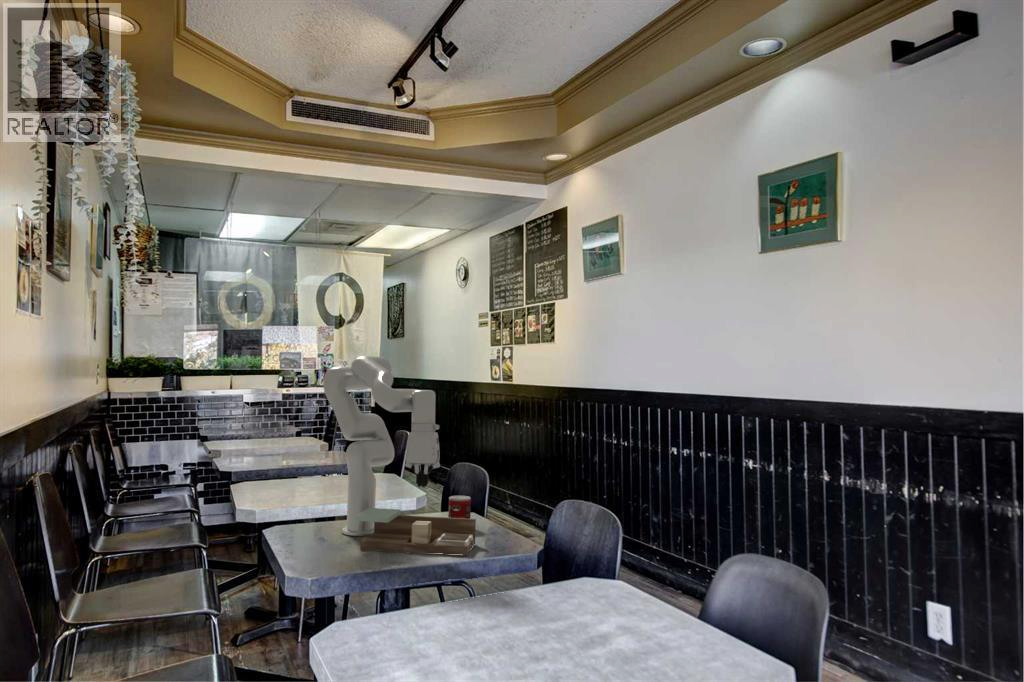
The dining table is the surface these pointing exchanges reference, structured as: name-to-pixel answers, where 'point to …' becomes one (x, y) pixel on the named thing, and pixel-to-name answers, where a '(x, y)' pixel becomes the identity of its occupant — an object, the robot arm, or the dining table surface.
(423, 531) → the beech block
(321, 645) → the dining table surface
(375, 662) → the dining table surface
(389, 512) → the sliding cover
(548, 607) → the dining table surface
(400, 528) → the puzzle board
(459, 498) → the canned food
